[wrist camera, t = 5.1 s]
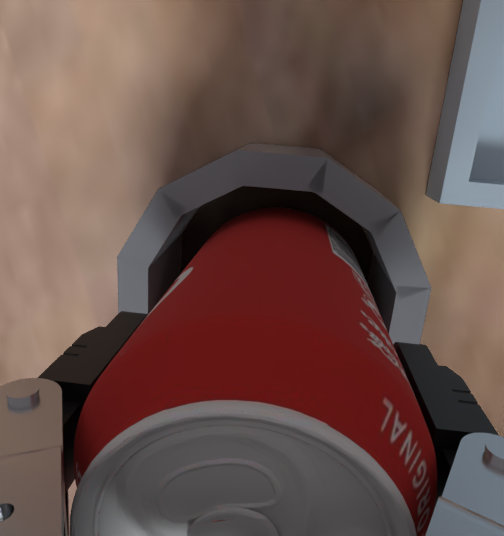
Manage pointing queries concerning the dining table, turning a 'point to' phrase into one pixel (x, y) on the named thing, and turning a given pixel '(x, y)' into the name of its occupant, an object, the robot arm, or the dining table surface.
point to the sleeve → (290, 178)
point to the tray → (473, 113)
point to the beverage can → (257, 401)
